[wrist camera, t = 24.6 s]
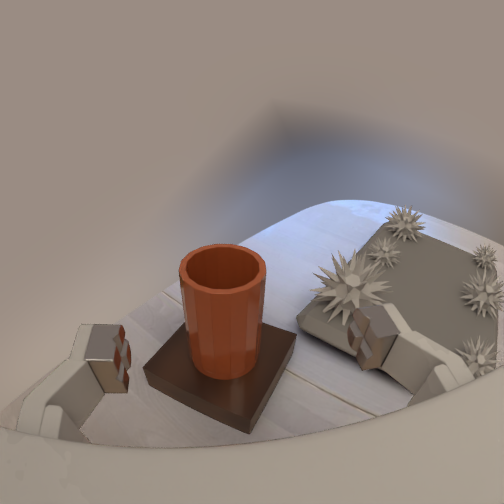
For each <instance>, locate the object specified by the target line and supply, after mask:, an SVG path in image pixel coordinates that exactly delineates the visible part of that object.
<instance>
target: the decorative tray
mask: <svg viewBox="0 0 504 504" xmlns="http://www.w3.org/2000/svg"><path fill="white" fill-rule="evenodd" d="M395 207H396V206H395ZM397 207H398V206H397ZM411 208H412V207H410V208H409V211H408V213H407V212H406V206H405V209H403V207H402V213H401V211H400V209H399V208H398V209H397V208H396V210H397V213H398V215H397V214H396V213H395V212H394V211H393V212H394V214H395V215H393V214H391V213H390V214H391V215H392V216H393V218H394V219H393V218H391V217H388V216H387V217H388V218H387V219H388V220H389V222H386V223H384V224H383V225H382V226H381V227H380V228H379V229H378V230H377V231H376V233H375V234H374V235H373V236H372V237H371V238H370V239H369V241H368V242H367V243H366V244H365V245H364V246H363V247H362V248H361V249H360V251H359V252H358V253H357V254H356V255H355V250H354V254H353V257H352V259H351V260H350V261H349V263H348V264H347V263H346V261H345V259H344V257H343V258H342V256H341V254H340V252H339V251H338V252H339V256H340V261H341V265H342V269H341V267H340V266H339V264H338V263H337V261H336V260H335V258H334V256H333V255H332V257H333V258H332V260H333V263H334V266H335V269H336V273H337V275H336V274H334V273H332V272H330V271H327V270H325V269H323V268H321V267H319V266H318V267H319V268H320V269H321V270H322V271H323V272H324V273H325V274H326V275H327V276H328V277H329V278H330V279H328V278H325V277H322V276H320V275H317V274H314V273H313V274H314V275H316V276H317V277H318V278H320V279H321V280H323V281H324V282H321V283H323V284H325V285H326V287H324V288H318V289H312V290H310V291H317V292H320V293H319V294H315V295H317V296H316V297H315V298H314V299H313V300H311V302H310V303H309V304H308V305H307V306H306V307H305V308H304V309H303V310H302V311H301V312H300V313H299V314H298V315H297V316H296V319H297V322H298V324H299V327H300V329H302V330H304V331H306V332H308V333H310V334H312V335H313V336H315V337H317V338H319V339H321V340H323V341H325V342H327V343H329V344H331V345H333V346H335V347H337V348H339V349H341V350H343V351H345V352H346V353H348V354H350V355H352V356H354V357H356V354H357V352H356V351H354V350H353V349H351V347H350V345H349V342H348V338H347V331H348V327H349V324H351V323H352V322H353V321H354V318H353V316H352V315H353V313H354V310H355V309H356V308H360V307H367V306H374V305H380V304H386V303H392V304H394V305H395V307H396V308H397V310H398V311H399V313H400V314H401V315H402V317H403V318H404V320H405V321H406V323H407V324H408V326H409V327H410V329H411V330H412V331H417V332H419V333H420V334H422V335H424V336H426V337H427V338H429V339H431V340H433V341H434V342H436V343H438V344H440V345H441V346H443V347H445V348H446V349H448V350H450V351H452V352H453V353H455V354H457V355H459V356H460V357H461V358H462V359H463V361H464V362H465V364H466V365H467V367H468V368H469V370H470V371H471V373H472V374H473V376H474V377H475V379H476V378H478V377H481V376H483V375H485V374H487V373H489V372H491V371H492V370H494V369H495V366H496V362H499V361H497V360H496V354H497V353H498V352H497V336H498V309H499V310H501V311H503V310H502V309H501V308H500V307H499V306H501V305H500V304H499V303H498V302H504V300H501V299H499V298H501V297H504V296H503V295H504V292H501V291H499V290H500V288H501V287H502V286H503V285H504V283H503V284H501V283H502V282H503V281H502V282H500V283H498V284H497V281H498V279H499V278H500V276H501V275H500V276H499V277H498V278H497V271H496V269H495V266H496V264H494V263H493V262H492V261H497V260H495V259H496V258H495V257H498V256H494V253H495V252H496V251H497V250H496V251H494V250H492V249H493V248H492V249H491V250H490V251H489V249H490V246H488V248H487V250H486V246H485V245H484V247H483V248H482V246H481V244H480V246H481V250H480V249H478V248H477V250H478V252H479V253H477V252H475V251H474V252H475V254H476V255H477V256H475V255H472V254H470V253H468V252H466V251H463V250H461V249H459V248H456V247H454V246H452V245H449V244H447V243H445V242H442V241H440V240H437V239H435V238H432V237H430V236H427V235H425V234H422V233H420V232H419V231H417V230H423V228H424V227H422V226H418V225H421V224H424V223H422V222H416V221H417V220H418V219H419V218H420V217H421V216H422V215H420V216H419V215H418V216H416V214H417V213H418V211H417V212H416V213H415V214H414V215H413V214H412V215H411ZM415 216H416V217H415ZM414 217H415V218H414ZM385 218H386V217H385ZM389 218H390V219H389ZM489 245H490V244H489ZM493 251H494V252H493ZM331 254H332V253H331ZM496 267H497V266H496ZM500 284H501V285H500ZM502 291H503V290H502ZM501 307H502V306H501ZM503 312H504V311H503ZM499 352H500V351H499ZM378 368H379V369H381V370H383V369H382V368H381V367H378ZM383 371H384V370H383Z"/></svg>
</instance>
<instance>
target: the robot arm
mask: <svg viewBox="0 0 504 504" xmlns="http://www.w3.org/2000/svg"><path fill="white" fill-rule="evenodd" d="M352 316H353V318H354V321H353V322H352V323H351V324H349V327H348V331H347V338H348V342H349V345H350V347H351V349H353V350H354V351H356V352H357V354H356V359H357V361H358V364H359V366H360V368H361V370H362V371H363V370H368V369H373V368H378V367H381V368H382V369H383V370H384V371H385V372H387V373H388V374H389V375H390V376H392V377H393V378H394V379H395V380H397V381H398V382H399V383H400V384H402V385H403V386H404V387H405V388H407V389H408V390H409V391H410V392H412V393H413V394H414V396H413V398H412V399H411V400H410V401H409V403H408V405H407V406H408V407H406V408H403V409H400V410H397V411H394V412H391V413H388V414H385V415H381V416H378V417H375V418H371V419H368V420H364V421H361V422H357V423H353V424H349V425H345V426H341V427H337V428H333V429H328V430H324V431H319V432H315V433H310V434H304V435H299V436H293V437H288V438H282V439H275V440H268V441H261V442H253V443H244V444H234V445H223V446H208V447H184V448H149V447H125V446H111V445H99V444H90V441H89V440H88V439H87V438H86V437H85V435H84V434H83V433H82V432H81V431H80V430H79V429H80V428H81V426H82V425H83V424H84V422H85V421H86V419H87V418H88V417H89V415H90V414H91V413H92V411H93V410H94V409H95V407H96V406H97V405H98V403H99V402H100V401H101V399H102V398H103V396H104V395H105V394H104V393H128V384H129V376H128V373H127V370H128V369H129V368H130V367H131V351H130V346H129V342H128V341H127V340H126V339H124V338H125V330H124V327H123V326H122V325H107V324H81V325H80V326H79V329H78V332H77V335H76V338H75V341H74V344H73V348H72V351H71V355H70V358H69V360H65V361H64V362H62V363H61V364H60V365H59V366H58V367H57V368H56V369H55V370H54V371H53V372H52V373H51V374H50V375H49V376H47V377H46V378H45V379H44V380H43V381H42V382H41V383H40V384H39V385H38V386H37V387H36V388H35V389H34V390H33V391H32V392H31V393H30V394H29V395H28V396H27V397H25V398H24V400H23V403H22V407H21V410H20V414H19V418H18V422H17V426H16V430H12V429H8V428H4V427H0V504H504V365H502V366H500V367H498V368H496V369H494V370H492V371H491V372H489V373H487V374H485V375H483V376H481V377H478V378H476V379H475V377H474V376H473V374H472V373H471V371H470V370H469V368H468V367H467V365H466V364H465V362H464V361H463V359H462V358H461V357H460V356H459V355H457V354H455V353H453V352H452V351H450V350H448V349H446V348H445V347H443V346H441V345H440V344H438V343H436V342H434V341H433V340H431V339H429V338H427V337H426V336H424V335H422V334H420V333H419V332H417V331H412V330H411V329H410V327H409V326H408V324H407V323H406V321H405V320H404V318H403V317H402V315H401V314H400V313H399V311H398V310H397V308H396V307H395V305H394V304H392V303H386V304H380V305H374V306H367V307H360V308H356V309H355V310H354V313H353V315H352Z"/></svg>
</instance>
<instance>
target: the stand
mask: <svg viewBox="0 0 504 504" xmlns="http://www.w3.org/2000/svg"><path fill="white" fill-rule="evenodd" d="M296 336H297V334H295V333H292V332H289V331H286V330H283V329H280V328H277V327H274V326H271V325H268V324H265V323H262V327H261V338H260V349H259V354H258V360H257V362H256V364H255V366H254V367H253V368H252V369H251V370H250V371H249V372H248V373H247V374H245V375H243V376H241V377H238V378H235V379H229V380H220V379H214V378H211V377H208V376H206V375H204V374H203V373H201V372H200V371H199V370H198V369H197V368H196V367H195V366H194V364H193V362H192V359H191V354H190V352H189V345H188V339H187V332H186V325H185V322H184V323H183V324H182V325H181V327H180V328H179V329H178V330H177V331H176V332H175V333H174V334H173V335H172V336H171V337H170V338H169V340H168V341H167V342H166V343H165V344H164V345H163V346H162V347H161V348H160V349H159V350H158V351H157V353H156V354H155V355H154V356H153V357H152V358H151V359H150V360H149V361H148V362H147V363H146V364H145V366H144V367H143V370H144V372H145V375H146V378H147V381H148V383H149V385H150V386H152V387H154V388H155V389H157V390H159V391H161V392H162V393H164V394H166V395H168V396H170V397H172V398H173V399H175V400H177V401H179V402H181V403H183V404H185V405H187V406H189V407H191V408H193V409H195V410H197V411H199V412H201V413H203V414H205V415H207V416H209V417H211V418H213V419H215V420H217V421H220V422H222V423H224V424H226V425H228V426H231V427H233V428H235V429H237V430H240V431H242V432H245V433H247V434H250V432H251V431H252V429H253V427H254V425H255V424H256V422H257V420H258V418H259V416H260V415H261V413H262V411H263V409H264V407H265V406H266V404H267V402H268V400H269V398H270V396H271V394H272V393H273V391H274V389H275V387H276V385H277V383H278V381H279V379H280V377H281V375H282V373H283V372H284V370H285V368H286V366H287V364H288V362H289V360H290V358H291V356H292V354H293V350H294V346H295V341H296Z"/></svg>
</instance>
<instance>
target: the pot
mask: <svg viewBox="0 0 504 504" xmlns="http://www.w3.org/2000/svg"><path fill="white" fill-rule="evenodd" d="M179 277H180V286H181V294H182V302H183V310H184V317H185V325H186V332H187V339H188V345H189V352H190V354H191V359H192V362H193V364H194V366H195V367H196V368H197V369H198V370H199V371H200V372H201V373H203V374H204V375H206V376H208V377H211V378H214V379H220V380H229V379H235V378H238V377H241V376H243V375H245V374H247V373H248V372H249V371H250V370H251V369H252V368H253V367H254V366H255V364H256V362H257V360H258V354H259V349H260V338H261V327H262V316H263V305H264V293H265V282H266V265H265V261H264V260H263V259H262V258H261V257H260V255H259V254H257V253H256V252H254V251H252V250H250V249H248V248H246V247H242V246H238V245H233V244H214V245H208V246H203V247H200V248H198V249H196V250H194V251H192V252H190V253H189V254H187V255H186V257H184V259H182V261H181V264H180V267H179Z"/></svg>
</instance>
